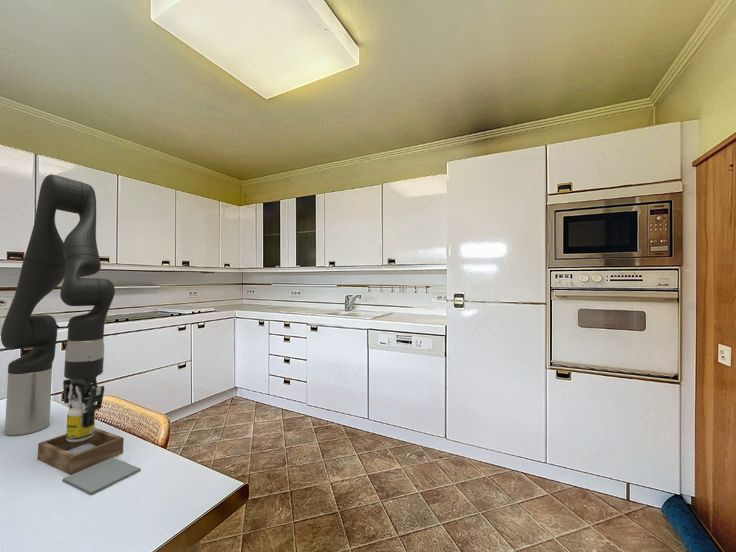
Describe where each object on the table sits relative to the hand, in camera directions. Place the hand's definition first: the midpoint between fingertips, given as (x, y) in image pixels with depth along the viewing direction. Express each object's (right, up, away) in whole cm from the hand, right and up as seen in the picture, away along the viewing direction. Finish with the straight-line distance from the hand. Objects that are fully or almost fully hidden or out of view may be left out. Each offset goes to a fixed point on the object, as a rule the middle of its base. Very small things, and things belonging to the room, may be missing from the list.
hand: (81, 423), depth 84 cm
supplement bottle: (0, -4, 0) cm, 4 cm away
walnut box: (0, -8, 0) cm, 8 cm away
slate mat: (+12, -8, -8) cm, 17 cm away
